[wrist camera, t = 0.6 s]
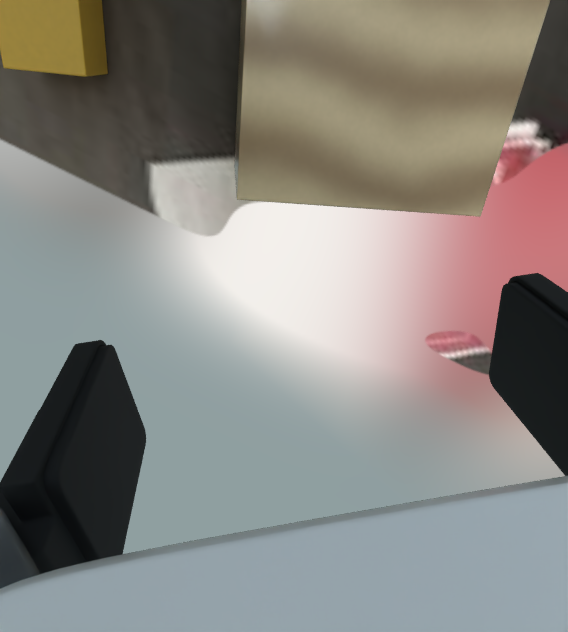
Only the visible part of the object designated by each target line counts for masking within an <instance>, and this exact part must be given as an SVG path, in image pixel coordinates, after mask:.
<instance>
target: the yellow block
mask: <svg viewBox="0 0 568 632" xmlns="http://www.w3.org/2000/svg"><path fill="white" fill-rule="evenodd" d="M0 51H1V57H2V62H3V67H4V68H7V69H17V70H26V71H36V72H45V73H55V74H64V75H74V76H83V77H87V76H95V75H104V74H108V70H107V58H106V46H105V33H104V21H103V9H102V0H0Z"/></svg>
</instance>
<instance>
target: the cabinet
mask: <svg viewBox="0 0 568 632" xmlns="http://www.w3.org/2000/svg"><path fill="white" fill-rule="evenodd" d="M549 2H550V0H242V5H241V28H240V50H239V73H238V96H237V118H236V141H235V164H234V167H235V180H236V194H237V200H251V201H266V202H280V203H294V204H308V205H323V206H337V207H352V208H366V209H381V210H394V211H408V212H423V213H437V214H451V215H466V216H481V213H482V210H483V207H484V204H485V200H486V198H487V194H488V191H489V188H490V185H491V182H492V179H493V176H494V173H495V170H496V167H497V163H498V160H499V157H500V154H501V151H502V148H503V145H504V142H505V139H506V136H507V132H508V129H509V126H510V123H511V120H512V117H513V114H514V111H515V108H516V105H517V102H518V98H519V95H520V92H521V89H522V86H523V83H524V80H525V77H526V74H527V71H528V67H529V64H530V61H531V58H532V55H533V52H534V49H535V46H536V43H537V40H538V36H539V33H540V30H541V27H542V24H543V21H544V18H545V15H546V12H547V9H548V5H549Z"/></svg>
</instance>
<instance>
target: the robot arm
mask: <svg viewBox="0 0 568 632" xmlns="http://www.w3.org/2000/svg"><path fill="white" fill-rule="evenodd" d="M489 377H490V382H491V384H492V386H493V387H494V389H495V390H496V391H497V392H498V393H499V395H500V396H501V397H502V398H503V400H504V401H505V402H506V403H507V405H508V406H509V407H510V408H511V410H513V412H514V413H515V414H516V416H517V417H518V418H519V419H520V421H521V422H522V423H523V424H524V425H525V427H526V428H527V429H528V430H529V432H530V433H531V434H532V435H533V437H534V438H535V439H536V440H537V441H538V443H539V444H540V445H541V446H542V448H543V449H544V450H545V451H546V453H547V454H548V455H549V456H550V457H551V459H552V460H553V461H554V462H555V464H556V465H557V466H558V467H559V468H560V469H561V471H562V472H563V473H564V475H565V476H564V477H558V478H552V479H546V480H540V481H534V482H528V483H522V484H516V485H510V486H504V487H498V488H492V489H486V490H480V491H474V492H468V493H462V494H456V495H450V496H445V497H439V498H434V499H427V500H421V501H415V502H410V503H404V504H399V505H393V506H386V507H381V508H375V509H370V510H364V511H358V512H352V513H346V514H341V515H335V516H329V517H324V518H318V519H312V520H307V521H301V522H295V523H289V524H284V525H278V526H273V527H267V528H261V529H256V530H251V531H245V532H239V533H233V534H228V535H222V536H217V537H211V538H206V539H200V540H194V541H189V542H183V543H178V544H173V545H168V546H163V547H158V548H153V549H148V550H143V551H138V552H132V553H128V554H123V549H124V544H125V539H126V534H127V529H128V525H129V520H130V516H131V511H132V506H133V501H134V496H135V492H136V487H137V483H138V477H139V473H140V468H141V464H142V459H143V454H144V449H145V443H146V434H145V429H144V426H143V423H142V420H141V418H140V415H139V412H138V410H137V407H136V404H135V402H134V399H133V396H132V394H131V391H130V388H129V386H128V383H127V380H126V378H125V375H124V372H123V370H122V367H121V364H120V361H119V359H118V356H117V353H116V351H115V348H114V347H113V346H112V345H106V344H105V343H104V341H102V340H98V341H92V342H86V343H79V344H75V346H74V347H73V349H72V351H71V353H70V354H69V356H68V358H67V360H66V362H65V364H64V366H63V367H62V369H61V371H60V373H59V375H58V377H57V379H56V381H55V382H54V384H53V386H52V388H51V390H50V392H49V394H48V396H47V398H46V399H45V401H44V403H43V405H42V407H41V409H40V410H39V411H38V413H37V415H36V417H35V419H34V421H33V422H32V424H31V426H30V428H29V430H28V432H27V434H26V435H25V437H24V439H23V441H22V443H21V445H20V446H19V448H18V450H17V452H16V454H15V456H14V458H13V460H12V461H11V463H10V465H9V467H8V469H7V471H6V473H5V474H4V477H3V478H2V480H1V482H0V632H568V292H566V291H565V290H563V289H562V288H560V287H559V286H557V285H556V284H554V283H553V282H552V281H550V280H549V279H547V278H546V277H544V276H543V275H541V274H539V273H535V274H528V275H521V276H515V277H512V278H511V279H510V280H509V282H508V284H505V285H504V286H503V288H502V293H501V300H500V306H499V312H498V318H497V325H496V331H495V338H494V344H493V350H492V357H491V363H490V370H489Z"/></svg>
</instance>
